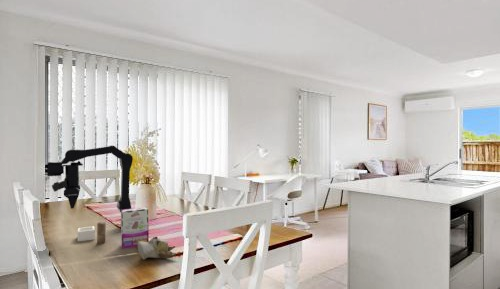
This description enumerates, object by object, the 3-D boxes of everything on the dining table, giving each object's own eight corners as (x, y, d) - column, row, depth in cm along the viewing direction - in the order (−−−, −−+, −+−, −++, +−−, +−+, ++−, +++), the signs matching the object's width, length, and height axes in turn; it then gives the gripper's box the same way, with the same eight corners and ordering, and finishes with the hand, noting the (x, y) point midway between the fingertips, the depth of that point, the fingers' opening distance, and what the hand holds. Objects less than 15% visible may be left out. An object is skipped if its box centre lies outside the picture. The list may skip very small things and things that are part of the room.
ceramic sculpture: (138, 233, 126) (176, 232, 130) (137, 254, 126) (174, 252, 130) (136, 241, 116) (177, 240, 120) (135, 264, 116) (176, 262, 120)
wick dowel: (105, 240, 142) (105, 221, 141) (105, 243, 139) (105, 224, 138) (96, 241, 140) (97, 222, 139) (97, 244, 137) (97, 224, 136)
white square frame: (94, 235, 150) (94, 226, 150) (94, 239, 144) (94, 229, 144) (78, 237, 147) (78, 228, 147) (77, 241, 141) (77, 231, 141)
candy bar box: (147, 242, 141) (147, 206, 141) (148, 245, 137) (148, 208, 137) (120, 246, 136) (120, 209, 136) (121, 249, 132) (121, 211, 131)
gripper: (54, 174, 157) (55, 204, 157) (50, 178, 140) (51, 212, 140) (79, 172, 162) (80, 202, 162) (78, 176, 145) (79, 209, 145)
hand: (72, 206), depth 152 cm, fingers open, 9 cm apart
